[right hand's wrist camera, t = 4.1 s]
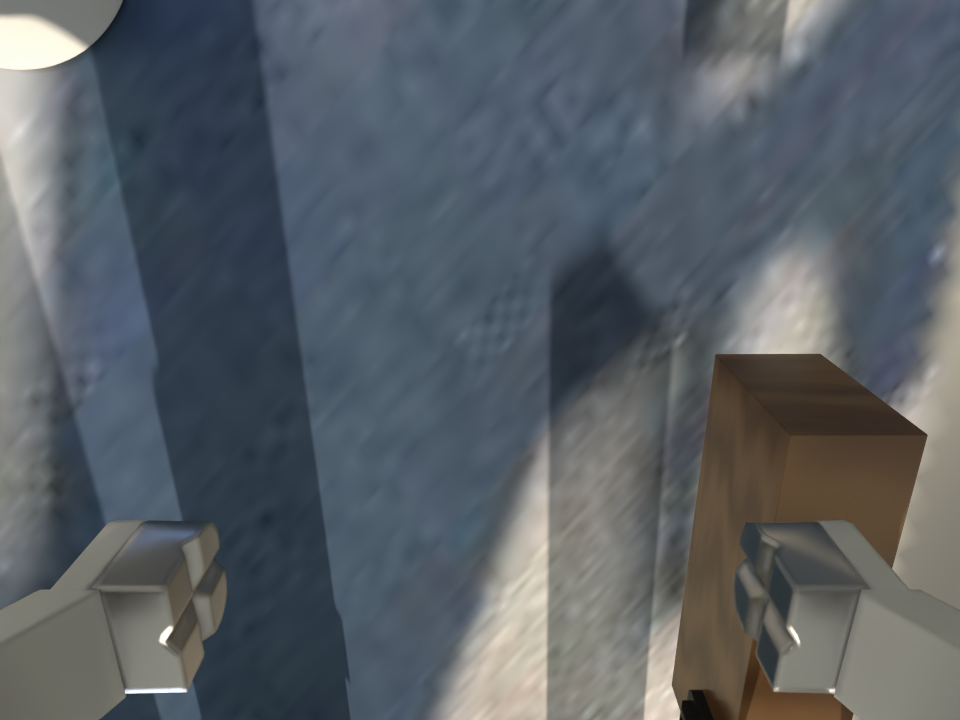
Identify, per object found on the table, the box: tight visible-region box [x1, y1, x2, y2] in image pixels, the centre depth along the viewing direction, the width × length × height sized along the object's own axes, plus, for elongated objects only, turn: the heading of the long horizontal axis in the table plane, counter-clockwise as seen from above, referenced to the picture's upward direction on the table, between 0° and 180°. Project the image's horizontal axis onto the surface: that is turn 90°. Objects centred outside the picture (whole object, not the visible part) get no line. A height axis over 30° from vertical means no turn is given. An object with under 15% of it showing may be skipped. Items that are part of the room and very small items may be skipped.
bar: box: [672, 354, 927, 720], centre depth 35 cm, size 22×5×9 cm, turn 0°
